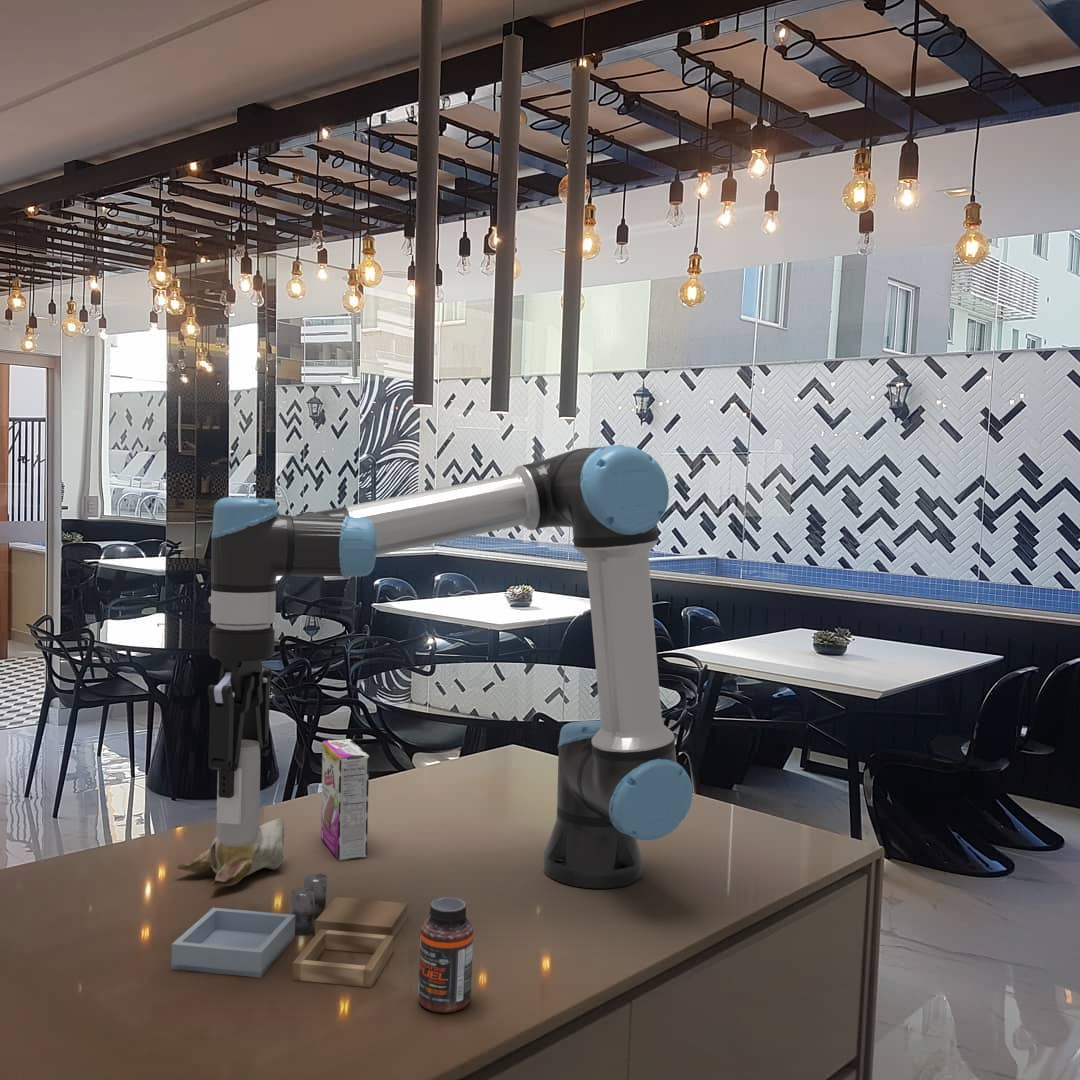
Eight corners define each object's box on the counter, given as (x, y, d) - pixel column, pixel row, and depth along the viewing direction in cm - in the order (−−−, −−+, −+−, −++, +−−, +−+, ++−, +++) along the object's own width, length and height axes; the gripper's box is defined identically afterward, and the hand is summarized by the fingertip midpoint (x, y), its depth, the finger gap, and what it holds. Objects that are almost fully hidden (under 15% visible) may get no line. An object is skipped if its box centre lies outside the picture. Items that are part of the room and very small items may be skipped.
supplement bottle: (407, 1007, 115) (410, 907, 114) (434, 985, 120) (437, 889, 120) (455, 1020, 112) (458, 917, 112) (480, 996, 118) (483, 899, 117)
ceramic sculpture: (303, 814, 153) (212, 844, 142) (305, 871, 154) (215, 905, 143) (262, 799, 160) (172, 826, 149) (264, 853, 161) (175, 884, 150)
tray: (294, 938, 131) (295, 914, 131) (260, 977, 120) (261, 952, 120) (212, 930, 133) (213, 907, 132) (171, 969, 122) (171, 944, 122)
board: (407, 921, 139) (407, 903, 139) (390, 946, 131) (391, 927, 131) (335, 915, 140) (335, 896, 140) (314, 939, 132) (315, 920, 132)
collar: (393, 951, 128) (393, 935, 128) (371, 987, 119) (371, 970, 119) (319, 944, 129) (320, 929, 129) (292, 979, 120) (292, 962, 120)
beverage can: (246, 849, 123) (248, 750, 122) (209, 845, 124) (211, 746, 123) (265, 837, 128) (267, 741, 127) (229, 833, 129) (231, 737, 128)
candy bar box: (318, 839, 168) (321, 740, 168) (348, 836, 171) (351, 737, 170) (336, 862, 158) (339, 756, 158) (368, 858, 161) (371, 754, 160)
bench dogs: (329, 911, 140) (330, 874, 140) (308, 935, 132) (309, 897, 132) (308, 909, 140) (309, 873, 140) (286, 933, 132) (287, 895, 132)
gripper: (243, 615, 134) (239, 792, 135) (178, 633, 116) (174, 836, 117) (299, 618, 133) (294, 796, 134) (241, 636, 115) (237, 841, 116)
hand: (238, 815), depth 126 cm, fingers closed on beverage can, 5 cm apart
